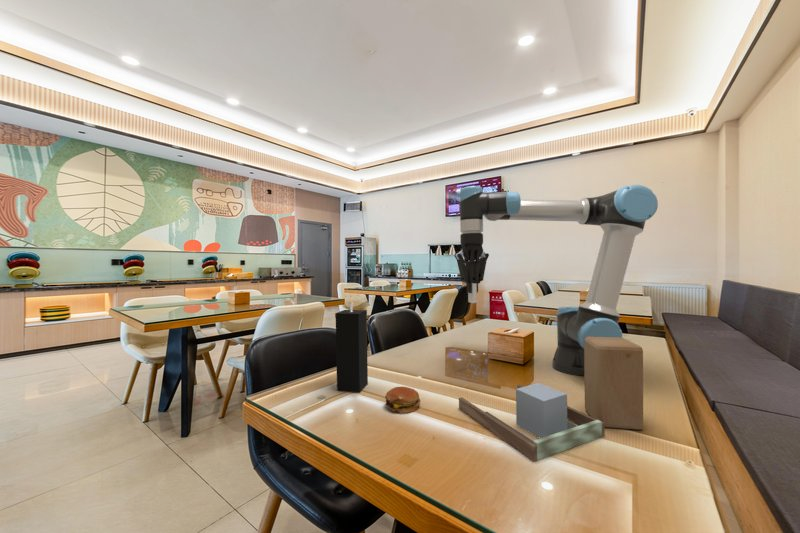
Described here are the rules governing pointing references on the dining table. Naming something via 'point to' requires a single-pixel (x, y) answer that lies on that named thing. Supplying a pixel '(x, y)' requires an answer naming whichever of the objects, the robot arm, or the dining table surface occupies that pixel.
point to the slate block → (541, 410)
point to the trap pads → (569, 426)
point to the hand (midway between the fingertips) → (472, 302)
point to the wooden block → (614, 381)
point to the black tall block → (351, 349)
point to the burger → (402, 399)
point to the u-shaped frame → (546, 445)
